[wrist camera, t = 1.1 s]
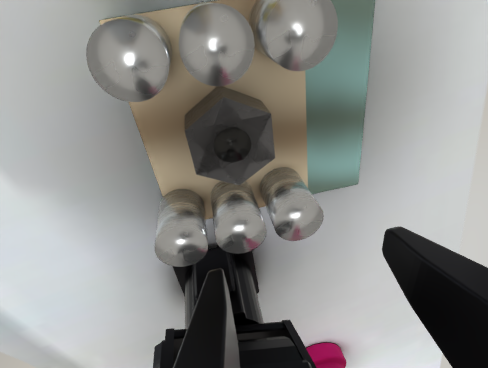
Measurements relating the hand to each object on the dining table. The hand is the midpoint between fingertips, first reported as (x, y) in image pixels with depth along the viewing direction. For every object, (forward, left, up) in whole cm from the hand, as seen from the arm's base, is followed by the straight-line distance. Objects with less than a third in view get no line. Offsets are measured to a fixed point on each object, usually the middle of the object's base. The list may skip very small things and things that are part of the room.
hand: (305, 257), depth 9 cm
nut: (0, +1, -11) cm, 11 cm away
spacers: (0, +1, -11) cm, 11 cm away
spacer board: (0, -1, -12) cm, 12 cm away
